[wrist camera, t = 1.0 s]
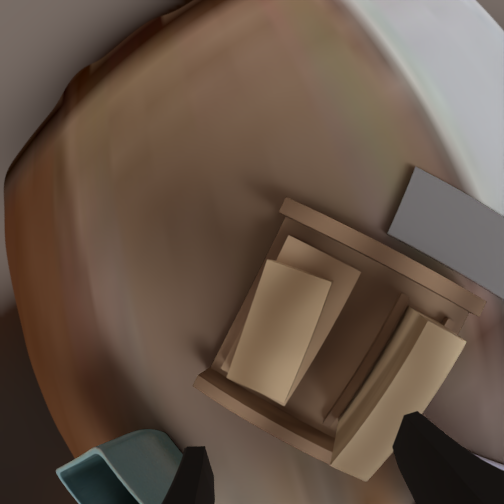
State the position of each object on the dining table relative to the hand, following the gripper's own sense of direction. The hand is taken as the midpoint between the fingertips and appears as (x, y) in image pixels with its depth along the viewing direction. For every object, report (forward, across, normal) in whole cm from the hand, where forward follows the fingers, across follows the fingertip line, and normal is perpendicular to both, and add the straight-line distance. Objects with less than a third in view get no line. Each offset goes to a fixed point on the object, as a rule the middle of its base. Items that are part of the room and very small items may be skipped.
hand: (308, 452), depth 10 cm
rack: (+11, -4, +3) cm, 12 cm away
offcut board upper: (+10, 0, +1) cm, 10 cm away
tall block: (+8, -7, +4) cm, 11 cm away
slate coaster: (+10, -14, -4) cm, 17 cm away
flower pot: (+11, +10, +16) cm, 22 cm away
